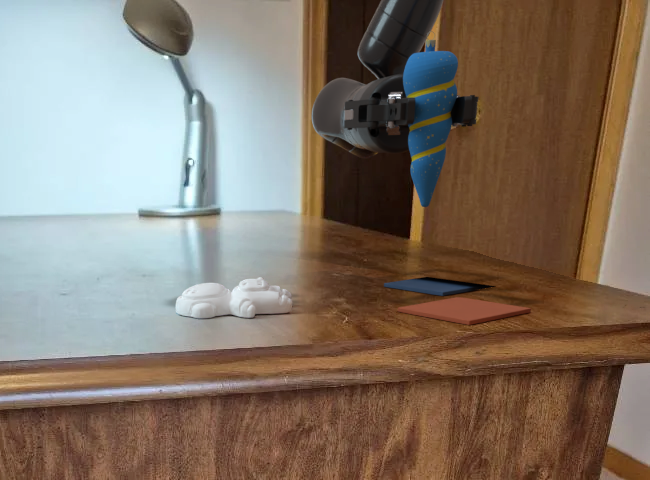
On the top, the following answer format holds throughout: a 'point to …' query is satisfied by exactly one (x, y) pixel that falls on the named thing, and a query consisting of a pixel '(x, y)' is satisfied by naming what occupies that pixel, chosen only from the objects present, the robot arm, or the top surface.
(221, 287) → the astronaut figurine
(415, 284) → the blue pad
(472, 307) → the terracotta pad
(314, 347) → the top surface
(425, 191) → the ornament
